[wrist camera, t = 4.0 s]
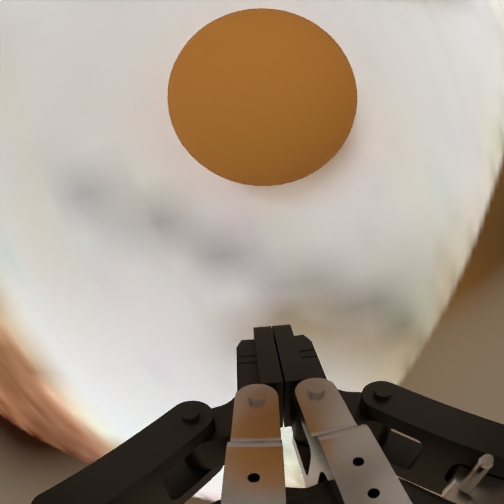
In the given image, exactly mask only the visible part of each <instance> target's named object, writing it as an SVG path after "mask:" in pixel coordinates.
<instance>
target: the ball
mask: <svg viewBox="0 0 504 504" xmlns="http://www.w3.org/2000/svg"><path fill="white" fill-rule="evenodd" d="M168 107H169V114H170V118H171V122H172V125H173V127H174V130H175V132H176V134H177V136H178V138H179V140H180V141H181V143H182V145H183V146H184V147H185V148H186V150H187V151H188V152H189V153H190V155H192V156H193V157H194V158H195V159H196V160H197V161H198V162H199V163H200V164H201V165H203V166H204V167H206V168H207V169H208V170H210V171H212V172H213V173H215V174H217V175H219V176H221V177H223V178H226V179H228V180H231V181H234V182H238V183H242V184H248V185H255V186H271V185H280V184H285V183H289V182H293V181H296V180H298V179H301V178H304V177H306V176H308V175H309V174H311V173H313V172H315V171H316V170H318V169H319V168H321V167H322V166H323V165H325V164H326V163H327V162H328V161H329V160H330V159H331V158H332V157H333V156H334V155H335V154H336V153H337V152H338V150H339V149H340V148H341V147H342V145H343V144H344V142H345V140H346V139H347V137H348V135H349V132H350V130H351V128H352V125H353V121H354V118H355V114H356V107H357V89H356V83H355V78H354V75H353V71H352V68H351V66H350V64H349V62H348V60H347V57H346V56H345V54H344V53H343V51H342V49H341V48H340V47H339V45H338V44H337V43H336V42H335V40H334V39H333V38H332V37H331V36H330V35H329V34H328V33H326V32H325V31H324V30H323V29H321V28H320V27H319V26H317V25H316V24H314V23H312V22H311V21H309V20H307V19H305V18H303V17H301V16H298V15H296V14H293V13H289V12H286V11H281V10H275V9H262V8H261V9H248V10H242V11H237V12H234V13H231V14H228V15H225V16H223V17H221V18H218V19H216V20H214V21H213V22H211V23H209V24H208V25H206V26H204V27H203V28H202V29H201V30H199V31H198V32H197V33H196V34H195V35H194V36H193V37H192V38H191V39H190V40H189V41H188V42H187V44H186V45H185V46H184V48H183V49H182V51H181V52H180V54H179V56H178V58H177V59H176V61H175V63H174V66H173V69H172V72H171V74H170V79H169V84H168Z"/></svg>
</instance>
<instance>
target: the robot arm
mask: <svg viewBox="0 0 504 504" xmlns="http://www.w3.org/2000/svg"><path fill="white" fill-rule="evenodd" d="M253 330H254V340H241V342H240V343H239V345H238V346H237V388H238V389H237V393H236V395H235V397H234V398H233V399H232V400H231V401H230V402H228V403H227V404H225V405H222V406H219V407H215V408H212V409H211V408H210V407H209V406H208V405H207V404H205V403H203V402H199V401H187V402H183V403H180V404H178V405H176V406H175V407H174V408H172V409H171V410H169V411H168V412H167V413H165V414H164V415H163V416H161V417H160V418H158V419H157V420H156V421H154V422H153V423H151V424H150V425H149V426H147V427H146V428H144V429H143V430H142V431H140V432H139V433H137V434H136V435H134V436H133V437H131V438H130V439H128V440H127V441H126V442H124V443H123V444H121V445H120V446H118V447H117V448H115V449H114V450H112V451H111V452H109V453H107V454H106V455H104V456H103V457H101V458H100V459H98V460H97V461H95V462H93V463H92V464H90V465H89V466H87V467H85V468H84V469H82V470H81V471H79V472H77V473H76V474H74V475H72V476H71V477H69V478H67V479H66V480H64V481H62V482H61V483H59V484H57V485H55V486H54V487H52V488H50V489H48V490H47V491H45V492H43V493H41V494H39V495H38V496H37V497H35V498H34V500H33V501H32V503H31V504H184V503H185V502H186V501H187V500H189V499H190V498H191V497H192V496H193V495H194V494H195V493H197V492H198V491H199V490H200V489H201V488H202V487H203V486H204V485H205V484H206V483H208V482H209V481H210V480H211V479H212V478H213V477H214V476H215V475H216V474H217V473H218V472H219V471H220V470H221V469H222V467H223V465H225V466H224V475H223V485H222V495H221V500H218V501H216V502H213V503H211V504H504V425H503V424H500V423H497V422H494V421H491V420H488V419H485V418H482V417H479V416H476V415H473V414H471V413H468V412H465V411H462V410H459V409H457V408H454V407H451V406H448V405H446V404H443V403H440V402H438V401H435V400H432V399H430V398H427V397H425V396H422V395H420V394H417V393H415V392H412V391H410V390H407V389H405V388H402V387H400V386H397V385H395V384H392V383H390V382H386V381H376V382H372V383H370V384H368V385H367V386H365V387H364V389H363V391H362V393H361V392H345V391H341V390H338V389H337V388H336V386H335V385H334V384H333V383H332V382H331V381H329V380H327V379H326V376H325V374H324V371H323V369H322V366H321V364H320V361H319V359H318V357H317V354H316V352H315V350H314V347H313V344H312V342H311V341H310V340H309V339H308V338H307V337H305V336H304V335H298V336H294V335H293V332H292V329H291V326H290V325H279V326H272V328H271V326H268V327H255V328H253ZM283 422H284V427H287V426H292V431H293V441H292V442H293V446H294V449H295V452H296V455H297V458H298V462H299V465H300V468H301V471H302V474H303V477H304V481H305V488H289V487H285V476H284V460H283V445H282V440H281V430H280V427H283ZM391 428H392V429H395V430H397V431H399V432H401V433H403V434H406V435H408V436H410V437H413V438H415V439H417V440H419V441H420V442H421V443H422V444H421V443H418V442H415V441H413V440H411V439H408V438H406V437H404V436H401V435H400V434H397V433H395V432H393V431H391ZM396 475H397V476H399V477H401V478H404V479H406V480H408V481H410V482H413V483H415V484H417V485H419V486H422V487H424V488H426V489H429V490H431V491H434V492H436V493H439V494H441V495H442V497H443V498H442V497H440V496H438V495H435V494H433V493H431V492H429V491H427V490H424V489H422V488H420V487H418V486H416V485H414V484H412V483H410V482H408V481H405V480H403V479H400V478H398V477H397V476H396Z"/></svg>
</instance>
